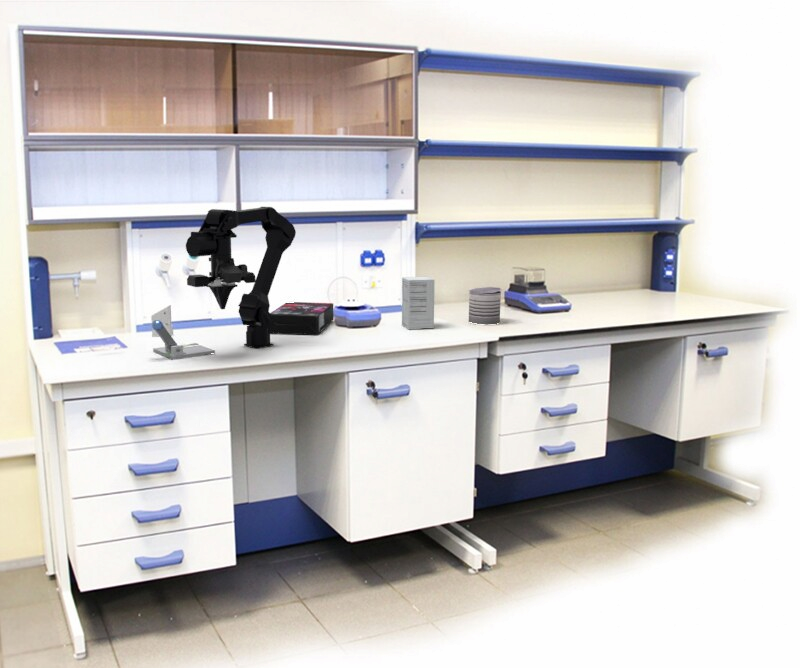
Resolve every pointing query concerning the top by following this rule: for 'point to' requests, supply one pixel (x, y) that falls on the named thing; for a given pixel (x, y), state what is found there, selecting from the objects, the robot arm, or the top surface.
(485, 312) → the can
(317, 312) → the graphics card box
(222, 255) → the robot arm
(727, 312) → the top surface
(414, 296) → the supplement box
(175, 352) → the switch panel
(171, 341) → the lever
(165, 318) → the grey plate
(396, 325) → the top surface
